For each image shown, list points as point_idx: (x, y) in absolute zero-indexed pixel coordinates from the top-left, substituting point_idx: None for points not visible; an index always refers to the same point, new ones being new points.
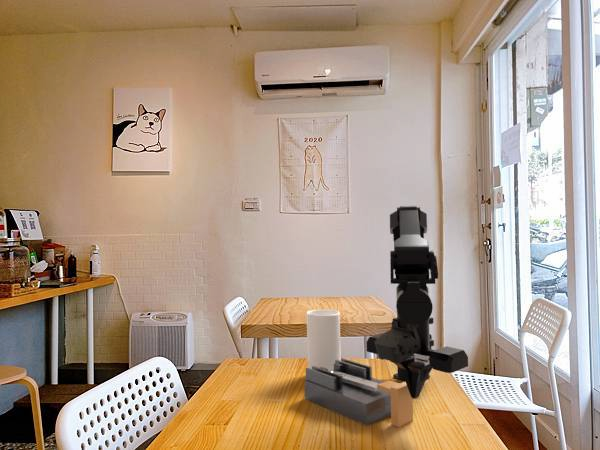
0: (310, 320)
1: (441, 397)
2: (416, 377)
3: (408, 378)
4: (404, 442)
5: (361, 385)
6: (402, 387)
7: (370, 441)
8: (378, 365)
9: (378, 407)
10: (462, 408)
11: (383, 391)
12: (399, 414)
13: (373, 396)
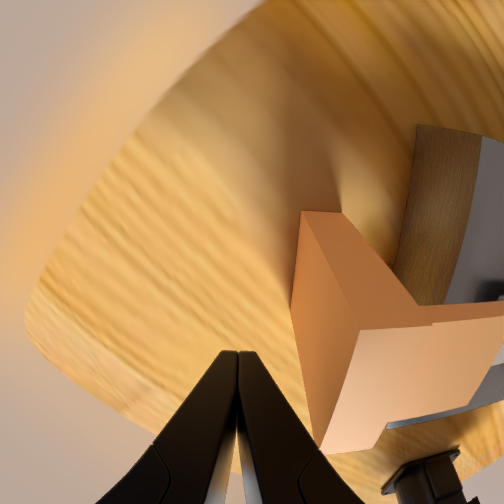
0: None
1: None
2: (126, 495)
3: (261, 473)
4: (182, 103)
5: None
6: (341, 384)
7: (305, 3)
8: (493, 450)
9: (437, 230)
10: None
11: None
12: (311, 246)
13: (491, 264)
